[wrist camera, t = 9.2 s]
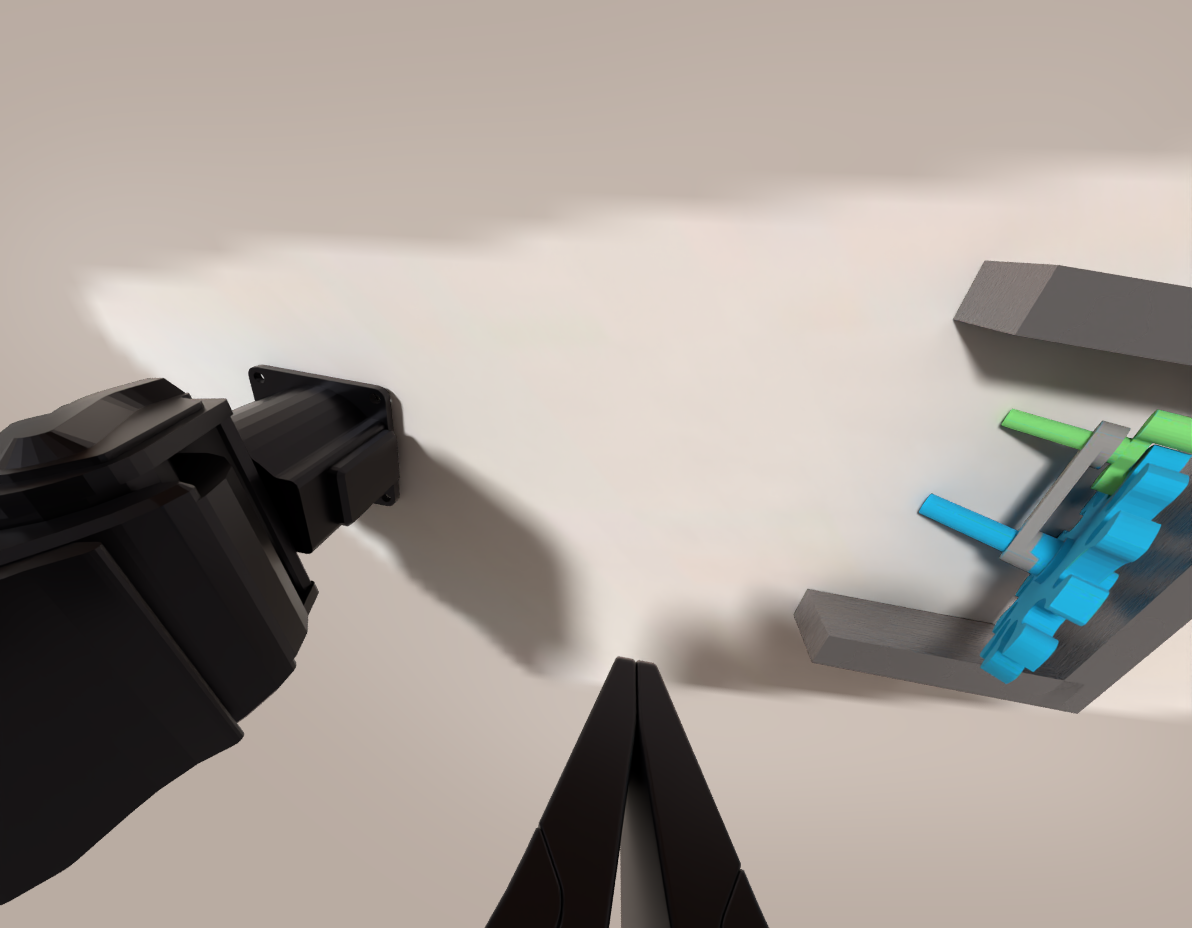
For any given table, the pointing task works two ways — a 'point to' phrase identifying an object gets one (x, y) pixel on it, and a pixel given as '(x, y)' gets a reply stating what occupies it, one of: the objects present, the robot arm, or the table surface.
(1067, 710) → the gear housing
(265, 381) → the robot arm
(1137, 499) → the gear
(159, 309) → the table surface
